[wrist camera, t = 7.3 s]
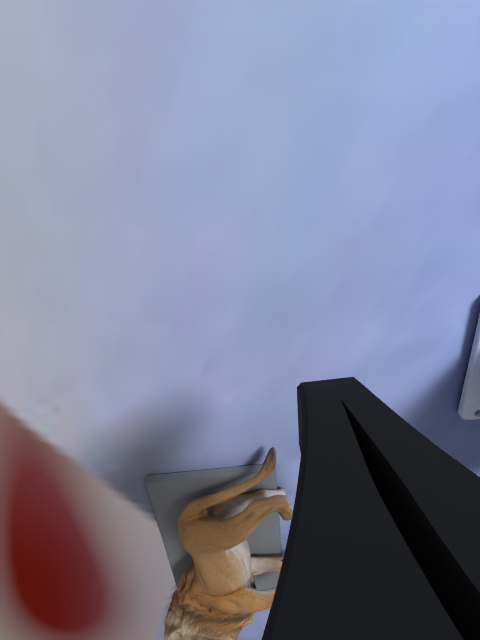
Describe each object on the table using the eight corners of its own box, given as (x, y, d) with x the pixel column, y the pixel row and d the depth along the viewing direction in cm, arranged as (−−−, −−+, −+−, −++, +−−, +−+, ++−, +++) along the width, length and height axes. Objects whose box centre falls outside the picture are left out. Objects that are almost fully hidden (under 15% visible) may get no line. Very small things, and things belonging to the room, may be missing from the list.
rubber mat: (274, 463, 22) (275, 470, 22) (283, 581, 28) (284, 589, 28) (147, 475, 22) (145, 483, 22) (181, 590, 28) (181, 599, 28)
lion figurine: (310, 686, 22) (162, 700, 22) (296, 598, 27) (176, 610, 27) (291, 475, 18) (114, 494, 18) (278, 421, 23) (140, 436, 23)
